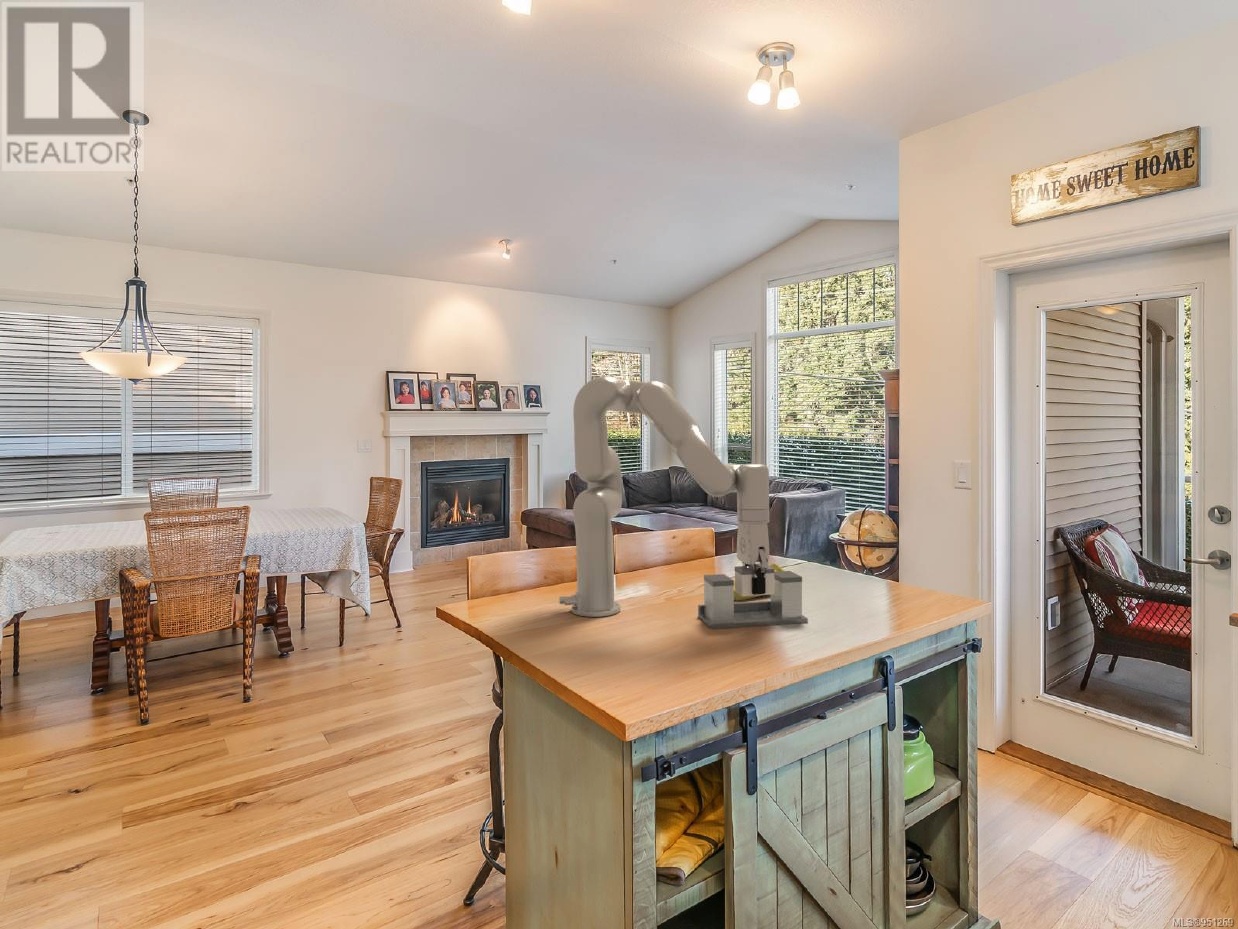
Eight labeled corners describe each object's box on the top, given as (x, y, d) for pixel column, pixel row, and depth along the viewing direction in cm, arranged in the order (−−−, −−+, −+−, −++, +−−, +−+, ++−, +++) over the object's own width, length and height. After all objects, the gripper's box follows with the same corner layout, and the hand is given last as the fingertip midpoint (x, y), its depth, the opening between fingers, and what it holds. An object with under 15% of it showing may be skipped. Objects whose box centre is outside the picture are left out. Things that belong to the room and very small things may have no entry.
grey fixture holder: (710, 628, 153) (710, 582, 152) (698, 617, 163) (697, 573, 162) (807, 622, 157) (807, 577, 156) (789, 611, 167) (789, 569, 166)
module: (742, 596, 155) (741, 570, 155) (734, 591, 160) (734, 566, 160) (774, 594, 157) (774, 568, 156) (766, 589, 162) (766, 564, 161)
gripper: (726, 512, 165) (727, 584, 166) (751, 521, 149) (752, 601, 149) (755, 511, 167) (756, 582, 167) (782, 519, 150) (783, 598, 151)
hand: (754, 590), depth 158 cm, fingers closed on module, 5 cm apart
